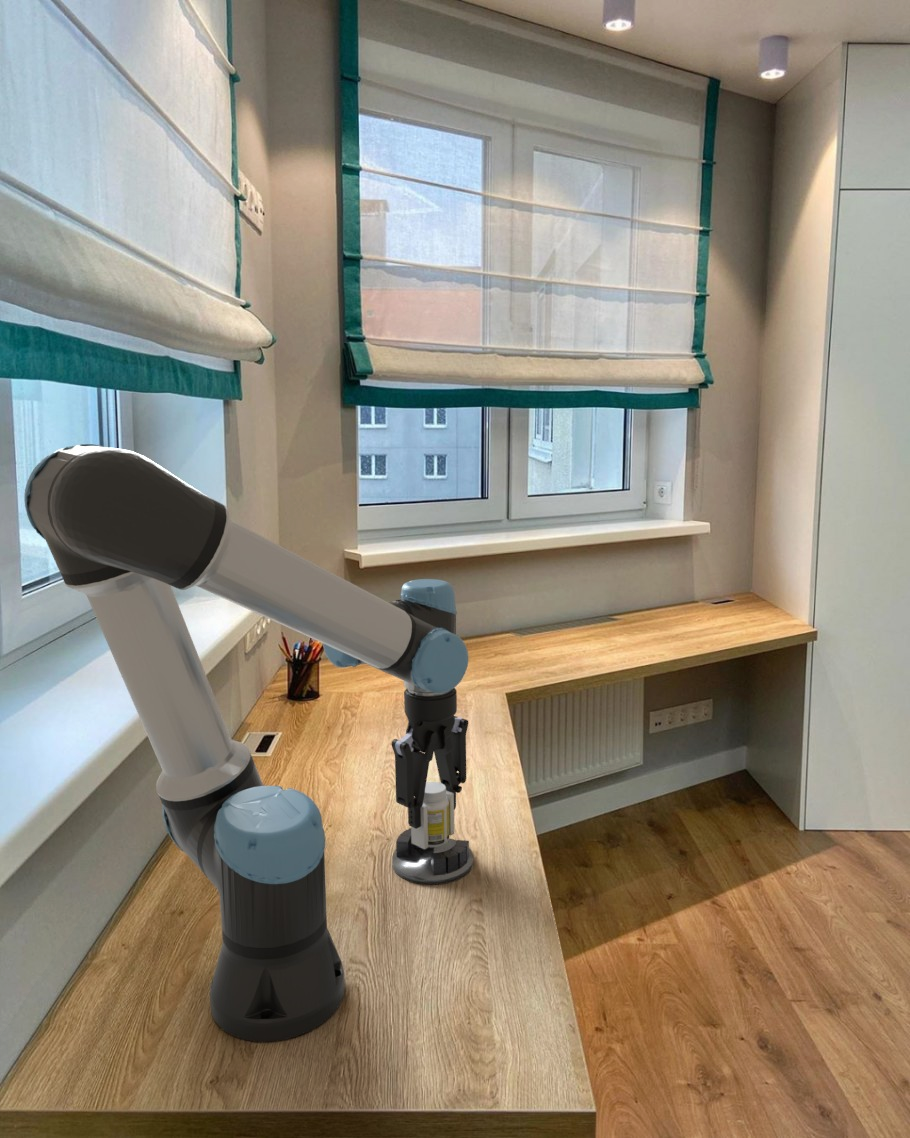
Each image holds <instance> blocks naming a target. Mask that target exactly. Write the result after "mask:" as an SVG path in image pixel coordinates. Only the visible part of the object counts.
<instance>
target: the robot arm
mask: <svg viewBox="0 0 910 1138" xmlns="http://www.w3.org/2000/svg"><path fill="white" fill-rule="evenodd" d="M23 498H24V507H25V511H26V515H27V517H28V518H27V519H28V521H29V523H30V525H31V526H32V528H33V529H34V530H35V531H36V533H37V534H38V535H39V536H40V537H41V538H42V539H44V540H45V541H46V544H47V546H48V548H49V550H50V553H51V556H52V557H53V559H54V563H55V564H56V566H57V568H58V571H59V573H60V576H61V577H62V580H63V583H64V584H65V586H66V587H67V588H70V589H72V590H75V591H78V592H80V593H83V594H85V595H86V598H87V599H88V602H89V604H90V606H91V609H92V611H93V613H94V616H95V617H96V618H95V619H96V620H97V623H98V625H99V627H100V630H101V631H102V632H101V633H103V636H104V639H105V641H106V643H107V645H108V648H109V651H110V652H111V656H112V657H113V659H114V661H115V663H116V666H117V669H118V671H119V674H120V675H121V678H122V680H123V682H124V684H125V687H126V689H127V691H128V694H129V696H130V699H131V701H132V703H133V705H134V708H135V710H136V713H137V714H138V718H139V719H140V721H141V724H142V727H143V728H144V731H145V733H146V735H147V737H148V738H147V739H149V742H150V745H151V747H152V749H153V752H154V754H155V756H156V759H157V761H158V764H159V765H160V767H161V770H162V771H161V772H160V775H159V776H158V779H157V780H156V784H155V790H156V793H157V795H158V798H159V800H160V802H161V807H162V808H161V811H162V819H163V822H164V825H165V828H166V831H167V833H168V835H169V837H170V838H171V840H172V841H173V843H174V844H175V846H177V848H178V849H180V850H181V851H182V852H183V853H185V854H186V855H187V857H188V858H189V859H190V860H191V861H192V862H193V864H195V865H196V867H197V868H198V869H199V870H200V871H201V872H202V873H203V874H204V875H205V877H206V878H207V879H208V880H209V881H210V882H211V883H212V885H213V886H214V887H215V888H216V889H217V890H216V891H217V892H218V896H219V906H220V919H221V922H220V923H221V932H222V942H221V948H220V952H219V953H218V958H217V962H216V965H215V968H214V969H215V970H214V974H213V976H212V979H211V981H210V986H209V987H210V988H209V997H210V998H209V999H210V1000H209V1001H210V1011H211V1016H212V1018H213V1021H214V1022H215V1023H216V1025H217V1026H218V1027H219V1028H220V1029H221V1030H223V1031H224V1032H225V1033H227V1034H229V1035H230V1036H233V1037H235V1038H238V1039H241V1040H245V1041H250V1042H251V1041H252V1042H263V1043H264V1042H277V1041H283V1040H284V1041H285V1040H289V1039H291V1038H295V1037H298V1036H301V1035H304V1034H306V1033H308V1032H310V1031H313V1030H315V1029H316V1028H318V1027H319V1026H321V1025H322V1024H324V1023H325V1022H327V1020H329V1019H330V1018H331V1017H333V1015H334V1014H335V1013H336V1011H338V1008H339V1007H340V1006H341V1003H342V1002H343V999H344V996H345V985H346V984H345V971H344V966H343V962H342V960H341V957H340V955H339V953H338V951H337V948H336V945H335V943H334V940H333V939H332V936H331V933H330V930H329V928H328V921H327V920H328V919H327V890H326V889H327V888H326V887H327V885H326V884H327V883H326V861H325V860H326V855H325V854H326V853H325V849H326V835H325V829H324V825H323V820H322V818H323V817H322V814H321V811H320V809H319V806H318V805H317V804H316V803H315V801H314V800H313V799H312V798H311V797H309V796H308V795H306V794H305V793H304V792H302V791H299V790H297V789H295V788H292V787H291V788H290V787H289V788H287V789H283V786H279V785H264V784H263V781H262V778H261V776H260V774H259V771H258V768H257V766H256V764H255V761H254V759H253V756H252V754H251V751H250V749H249V747H248V745H247V744H245V743H243V742H241V741H237V740H234V739H232V738H231V735H230V733H229V730H228V728H227V725H226V722H225V720H224V717H223V715H222V712H221V709H220V707H219V705H218V703H217V700H216V697H215V695H214V692H213V690H212V687H211V684H210V682H209V679H208V676H207V674H206V672H205V668H204V667H203V665H202V661H201V659H200V657H199V654H198V651H197V649H196V646H195V644H194V641H193V638H192V636H191V634H190V631H189V629H188V628H189V627H188V626H187V624H186V621H185V618H184V616H183V614H182V611H181V609H180V606H179V603H178V601H177V600H178V599H177V598H176V595H175V593H174V590H173V588H176V589H177V590H181V591H185V590H188V589H191V588H194V587H198V588H200V589H203V590H205V591H207V592H209V593H211V594H214V595H216V596H218V597H220V598H222V599H225V600H227V601H229V602H230V603H232V604H235V605H238V606H239V607H241V608H244V609H247V610H249V611H251V612H253V613H255V614H258V615H259V616H262V617H263V618H266V619H269V620H270V621H273V622H274V623H277V624H280V625H282V626H284V627H286V628H288V629H291V630H293V631H295V632H298V633H300V634H301V635H304V636H307V637H308V638H311V639H312V640H315V641H317V642H319V643H322V647H323V650H324V653H325V655H326V657H327V659H328V660H329V662H330V663H331V664H332V665H333V666H335V667H336V668H341V669H342V668H349V667H351V668H356V667H357V666H360V665H368V666H370V667H372V668H374V669H376V670H379V671H381V672H383V673H385V674H388V675H390V676H394V677H395V678H398V679H400V680H401V681H403V686H404V688H406V689H404V691H403V701H404V702H403V703H404V714H405V716H406V719H407V722H408V723H407V727H406V730H405V735H403V736H402V737H401V738H400V739H398V738H394V739H393V740H392V741H391V748H392V751H393V753H394V766H395V767H394V768H395V769H394V771H395V773H394V776H395V777H394V778H395V802H396V803H397V804H399V805H401V806H403V807H406V808H407V816H408V817H407V819H408V820H407V823H408V826H410V828H411V841H412V844H414V845H416V846H418V847H420V848H422V849H426V848H428V815H427V805H424V804H423V800H424V794H425V787H426V783H427V782H428V781H427V779H428V773H429V767H430V762H431V761H432V760H433V757H434V758H435V762H436V767H437V768H436V769H437V772H438V776H439V783H442V784H444V785H445V786H446V797H447V799H448V801H449V837H450V836H453V835H455V810H456V808H457V794H459V793H461V792H462V789H463V786H461V785H460V784H465V783H466V782H467V732H468V727H469V720H468V719H465V718H463V717H460V716H456V714H457V711H458V709H457V707H458V706H457V705H458V703H457V702H458V701H457V700H458V699H457V696H458V695H457V689H456V687H457V686H458V685H459V684H460V683H461V682H462V680H463V678H464V676H465V674H466V673H467V672H466V671H467V670H468V664H469V652H468V648H467V646H466V645H467V644H466V643H465V642H464V640H463V639H462V638H461V637H460V636H458V635H457V614H458V613H457V605H456V594H455V590H454V589H455V588H454V586H453V584H451V582H448V581H446V580H441V579H435V578H431V579H430V578H421V579H414V580H413V579H412V580H410V581H407V582H405V583H404V584H402V587H401V591H400V599H396V600H394V601H386V600H384V599H383V598H381V597H380V596H377V595H375V594H372V593H371V592H369V591H367V590H366V589H364V588H362V587H360V586H358V585H356V584H354V583H352V582H351V581H348V580H346V579H344V578H343V577H341V576H340V575H337V574H335V573H333V572H331V571H329V570H328V569H325V568H323V567H322V566H319V565H317V564H316V563H314V562H313V561H310V560H308V559H307V558H305V557H303V556H300V555H299V554H297V553H296V552H293V551H291V550H289V549H287V548H285V547H283V546H282V545H279V544H278V543H276V542H274V541H271V540H270V539H268V538H266V537H264V536H262V535H261V534H259V533H257V532H256V531H255V532H254V531H253V530H250V529H249V528H247V527H245V526H244V525H242V524H240V523H237V522H236V521H234V520H232V519H231V516H230V513H229V509H228V508H227V506H226V505H224V504H223V503H221V502H220V501H217V500H216V499H214V498H212V497H210V496H208V495H207V494H205V493H203V492H201V491H200V490H198V489H197V488H195V487H194V486H192V485H190V484H188V483H187V482H185V481H184V480H182V479H181V478H179V477H177V476H176V475H174V474H173V473H171V472H170V471H168V470H167V469H166V468H164V467H162V466H161V465H160V464H157V463H156V462H154V461H153V460H152V459H150V458H148V457H146V456H145V455H142V454H140V453H137V452H135V451H133V450H128V449H123V448H117V447H116V448H115V447H107V446H104V445H99V444H93V443H80V444H76V445H72V446H65V447H63V448H59V449H57V450H56V451H53V452H52V453H50V454H49V455H46V456H45V457H44V458H43V459H41V460H40V462H38V463H37V464H36V465H35V467H34V468H33V470H32V471H31V473H30V475H29V477H28V479H27V482H26V485H25V489H24V497H23ZM172 587H173V588H172Z"/></svg>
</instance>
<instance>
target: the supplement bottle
mask: <svg viewBox="0 0 910 1138" xmlns="http://www.w3.org/2000/svg"><path fill="white" fill-rule="evenodd" d="M423 804H424V805H427V815H428V847H432V848H434V847H440V846H443V845H445V844H446V843H447V842H448V841H449V838H450V835H449V801H448V799H447V797H446V786H445V785H444V784H442V783H441V782H440V781H439V782H438V781H426V787H425V794H424V800H423Z"/></svg>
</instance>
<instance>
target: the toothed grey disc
mask: <svg viewBox="0 0 910 1138" xmlns="http://www.w3.org/2000/svg"><path fill="white" fill-rule="evenodd" d="M395 843H396V846H395V847H396V848H395V850H394V852H393V854H392V858H391V859H392V869H393V871H394V873H395V874H397V876H398V877H400V878H401V879H403V880H405V881H407V882H411V883H414V884H418V885H428V886H429V885H432V886H433V885H444V884H448V883H449V884H450V883H452V882H455V881H458V880H461V879H462V878H464V877H465V876H467V875H468V873H470V872H471V870H472V869H473V866H474V854H473V851H472V849H471V848H470V841H469V840H463V839H453V838H450V837H449V841H448V842H447V843H446V844H445V845H443V846H440V847H434V848H432V847H428V848H426V849H422V848H420V847H418V846H416V845H414V844H412V841H411V827H409V828H408V829H405V830H404V831H403V832H401V833H400V834H399V835H398V837H397V839H396V841H395Z"/></svg>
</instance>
